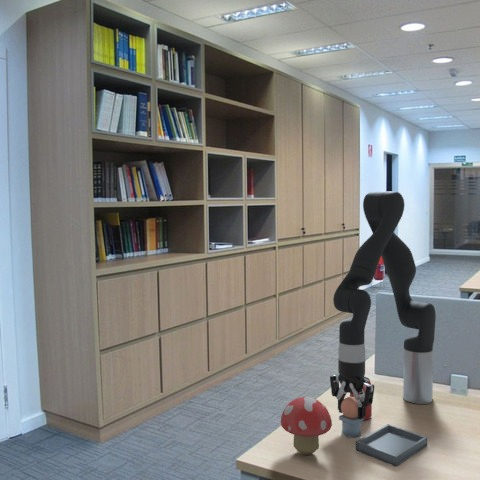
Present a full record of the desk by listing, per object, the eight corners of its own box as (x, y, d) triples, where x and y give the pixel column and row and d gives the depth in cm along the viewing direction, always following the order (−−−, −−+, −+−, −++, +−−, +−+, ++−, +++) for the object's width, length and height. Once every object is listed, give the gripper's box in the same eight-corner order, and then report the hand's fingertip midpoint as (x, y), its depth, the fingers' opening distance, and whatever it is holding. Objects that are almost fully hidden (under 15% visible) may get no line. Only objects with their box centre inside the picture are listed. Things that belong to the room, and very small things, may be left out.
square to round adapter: (349, 427, 154) (349, 411, 153) (364, 433, 150) (364, 416, 150) (338, 433, 150) (338, 416, 150) (353, 439, 146) (353, 421, 146)
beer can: (372, 421, 158) (372, 383, 157) (349, 420, 159) (350, 381, 158) (371, 413, 164) (371, 376, 164) (349, 411, 166) (349, 374, 165)
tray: (387, 432, 150) (388, 424, 150) (427, 446, 142) (427, 437, 141) (355, 450, 139) (355, 441, 139) (396, 466, 131) (396, 456, 131)
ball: (348, 412, 154) (349, 392, 154) (366, 417, 150) (366, 397, 149) (336, 417, 150) (336, 397, 150) (354, 423, 146) (354, 402, 145)
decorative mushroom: (331, 468, 130) (332, 409, 129) (278, 464, 132) (278, 406, 131) (331, 444, 143) (331, 390, 142) (283, 441, 146) (282, 388, 145)
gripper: (381, 360, 146) (380, 419, 147) (339, 350, 156) (338, 405, 158) (365, 366, 141) (365, 426, 142) (323, 355, 151) (323, 411, 152)
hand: (351, 415), depth 150 cm, fingers closed on ball, 6 cm apart
